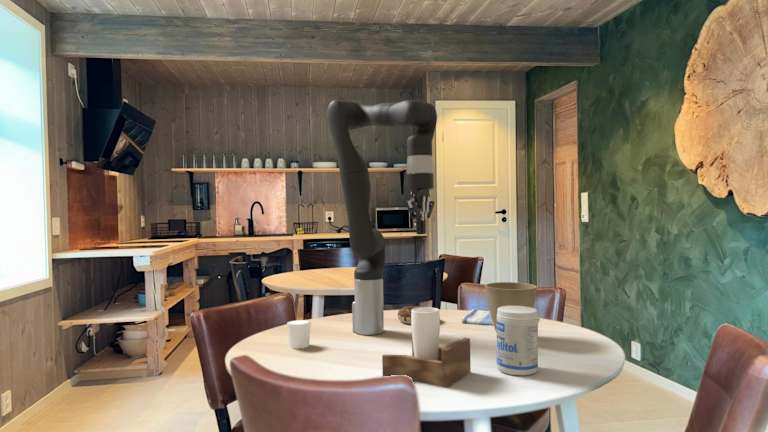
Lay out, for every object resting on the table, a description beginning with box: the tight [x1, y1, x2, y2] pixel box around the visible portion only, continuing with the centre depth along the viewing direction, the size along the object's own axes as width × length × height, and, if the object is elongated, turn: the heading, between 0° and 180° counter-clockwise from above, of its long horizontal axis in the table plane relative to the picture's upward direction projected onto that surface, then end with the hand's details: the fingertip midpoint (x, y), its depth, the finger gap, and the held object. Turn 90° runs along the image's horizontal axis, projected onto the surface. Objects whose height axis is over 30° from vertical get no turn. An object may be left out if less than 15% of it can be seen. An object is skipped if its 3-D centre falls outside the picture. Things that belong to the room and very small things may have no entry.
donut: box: [397, 305, 425, 325], centre depth 173 cm, size 14×14×5 cm
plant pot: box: [484, 281, 538, 334], centre depth 147 cm, size 15×15×16 cm
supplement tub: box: [496, 306, 539, 377], centre depth 117 cm, size 10×10×15 cm
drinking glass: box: [410, 306, 441, 360], centre depth 117 cm, size 7×7×15 cm
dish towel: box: [461, 308, 494, 327], centre depth 172 cm, size 17×24×3 cm
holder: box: [381, 337, 471, 388], centre depth 116 cm, size 16×16×8 cm
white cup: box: [286, 319, 312, 350], centre depth 143 cm, size 7×7×7 cm
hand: (421, 234), depth 138 cm, fingers closed
